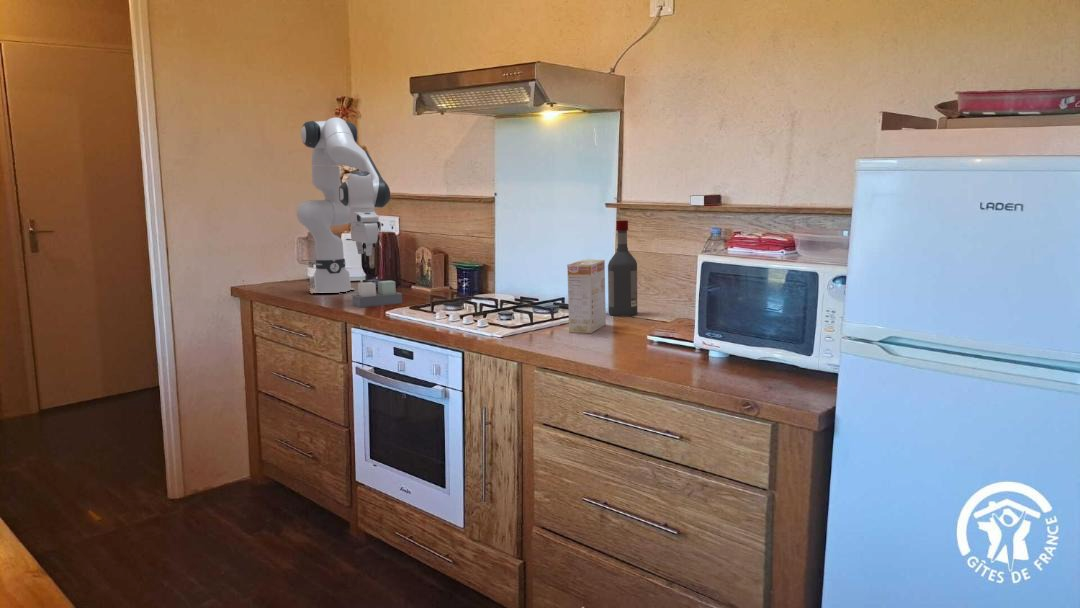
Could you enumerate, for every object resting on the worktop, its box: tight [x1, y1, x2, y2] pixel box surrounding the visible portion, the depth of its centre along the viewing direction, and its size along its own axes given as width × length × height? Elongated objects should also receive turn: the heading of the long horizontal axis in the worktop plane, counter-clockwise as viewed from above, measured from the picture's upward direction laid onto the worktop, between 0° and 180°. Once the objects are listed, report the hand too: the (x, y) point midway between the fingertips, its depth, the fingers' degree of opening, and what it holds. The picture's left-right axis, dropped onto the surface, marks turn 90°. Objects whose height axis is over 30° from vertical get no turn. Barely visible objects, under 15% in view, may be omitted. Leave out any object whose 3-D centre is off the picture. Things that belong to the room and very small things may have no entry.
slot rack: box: [352, 291, 403, 308], centre depth 278 cm, size 8×16×4 cm, turn 121°
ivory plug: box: [357, 281, 377, 297], centre depth 276 cm, size 5×5×8 cm
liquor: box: [607, 220, 638, 317], centre depth 242 cm, size 9×9×30 cm
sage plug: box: [377, 280, 397, 295], centre depth 280 cm, size 5×5×8 cm
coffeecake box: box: [566, 258, 607, 334], centre depth 218 cm, size 15×7×20 cm, turn 159°
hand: (364, 254), depth 274 cm, fingers open, 8 cm apart
